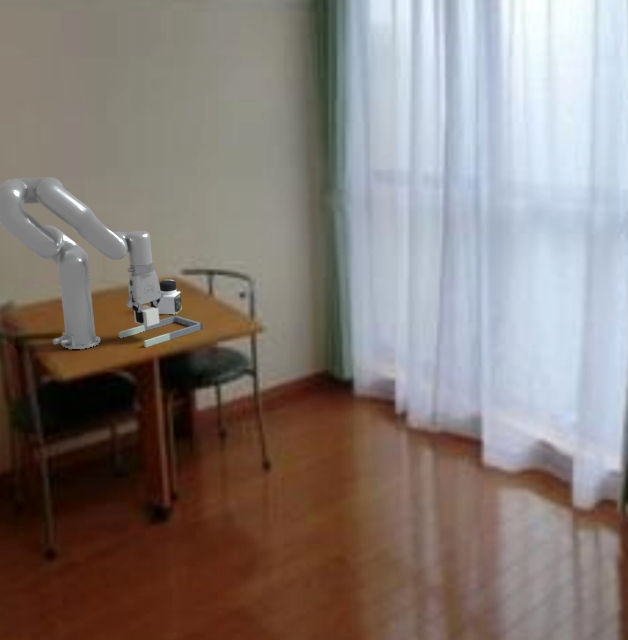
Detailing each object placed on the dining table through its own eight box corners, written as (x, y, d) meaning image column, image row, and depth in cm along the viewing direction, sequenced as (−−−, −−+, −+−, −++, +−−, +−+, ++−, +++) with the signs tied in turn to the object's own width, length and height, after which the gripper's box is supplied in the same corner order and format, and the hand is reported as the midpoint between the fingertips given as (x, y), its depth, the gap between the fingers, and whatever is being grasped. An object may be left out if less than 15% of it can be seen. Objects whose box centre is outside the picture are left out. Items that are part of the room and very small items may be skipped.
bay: (146, 347, 279) (145, 341, 278) (119, 337, 289) (118, 332, 288) (202, 329, 296) (202, 323, 295) (175, 320, 306) (175, 315, 305)
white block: (147, 326, 282) (146, 312, 281) (135, 322, 287) (133, 308, 285) (159, 322, 286) (158, 308, 284) (146, 319, 290) (145, 305, 289)
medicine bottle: (175, 315, 312) (173, 283, 309) (157, 314, 314) (154, 283, 310) (182, 309, 319) (180, 278, 315) (164, 308, 320) (162, 278, 317)
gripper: (127, 275, 272) (132, 329, 278) (169, 264, 284) (173, 316, 290) (113, 272, 277) (119, 324, 283) (155, 261, 289) (160, 312, 295)
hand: (146, 319), depth 286 cm, fingers closed on white block, 5 cm apart
